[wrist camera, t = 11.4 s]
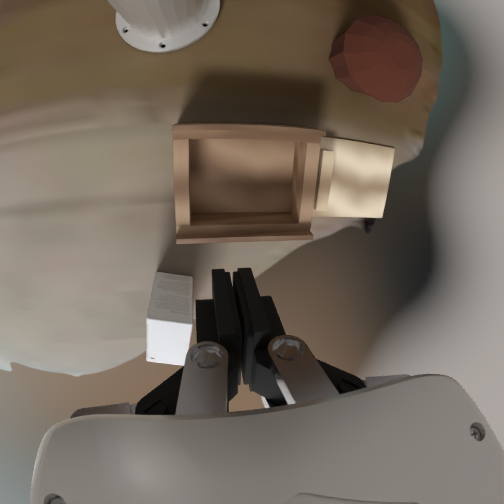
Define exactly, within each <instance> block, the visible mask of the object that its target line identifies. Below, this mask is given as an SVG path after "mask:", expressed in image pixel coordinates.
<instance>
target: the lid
mask: <svg viewBox="0 0 504 504" xmlns="http://www.w3.org/2000/svg"><path fill="white" fill-rule="evenodd" d="M394 150H395V149H394V148H390V147H385V146H380V145H374V144H369V143H363V142H357V141H350V140H344V139H337V138H329V137H322V136H321V143H320V153H319V163H318V172H317V181H316V190H315V198H314V206H313V214H312V216H335V217H372V218H382V215H383V211H384V206H385V201H386V196H387V191H388V186H389V180H390V175H391V169H392V163H393V156H394Z"/></svg>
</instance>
